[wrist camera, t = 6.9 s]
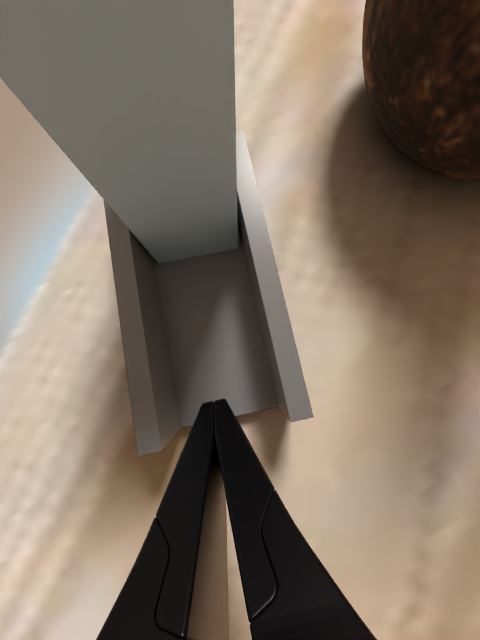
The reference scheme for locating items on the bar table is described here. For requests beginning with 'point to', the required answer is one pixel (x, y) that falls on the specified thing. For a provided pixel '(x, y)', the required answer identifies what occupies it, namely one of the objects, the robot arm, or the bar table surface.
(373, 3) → the dark brown round-bodied bottle
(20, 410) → the bar table surface
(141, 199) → the block
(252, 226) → the chute
